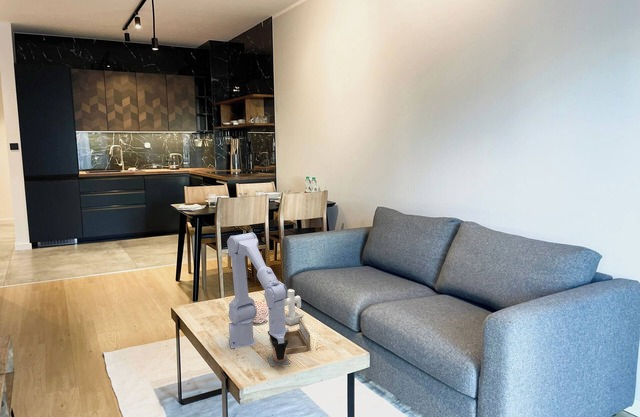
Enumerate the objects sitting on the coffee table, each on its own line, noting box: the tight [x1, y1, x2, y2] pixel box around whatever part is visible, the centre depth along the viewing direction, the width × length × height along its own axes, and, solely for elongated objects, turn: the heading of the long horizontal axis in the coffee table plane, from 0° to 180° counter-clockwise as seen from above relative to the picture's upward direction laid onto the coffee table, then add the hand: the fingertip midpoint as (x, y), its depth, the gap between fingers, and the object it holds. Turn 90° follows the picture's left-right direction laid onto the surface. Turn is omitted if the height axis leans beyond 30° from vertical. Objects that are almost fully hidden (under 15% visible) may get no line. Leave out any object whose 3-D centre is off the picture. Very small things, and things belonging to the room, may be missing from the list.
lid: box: [298, 318, 311, 352], centre depth 190 cm, size 1×15×8 cm, turn 15°
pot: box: [270, 343, 287, 363], centre depth 175 cm, size 5×5×6 cm
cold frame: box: [269, 328, 312, 356], centre depth 188 cm, size 13×16×6 cm
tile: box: [267, 354, 291, 367], centre depth 175 cm, size 7×7×1 cm
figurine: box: [284, 288, 304, 326], centre depth 210 cm, size 7×9×15 cm
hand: (278, 354), depth 175 cm, fingers open, 7 cm apart
